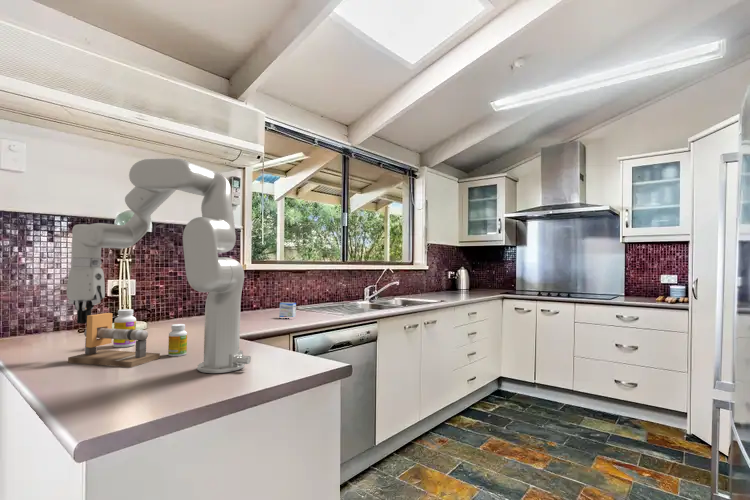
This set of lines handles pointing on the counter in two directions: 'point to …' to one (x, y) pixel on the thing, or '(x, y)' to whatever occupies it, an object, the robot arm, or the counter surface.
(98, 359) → the pipe stand
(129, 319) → the supplement bottle
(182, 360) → the counter surface
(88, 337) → the rubber collar
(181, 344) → the supplement bottle
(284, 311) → the medicine box
